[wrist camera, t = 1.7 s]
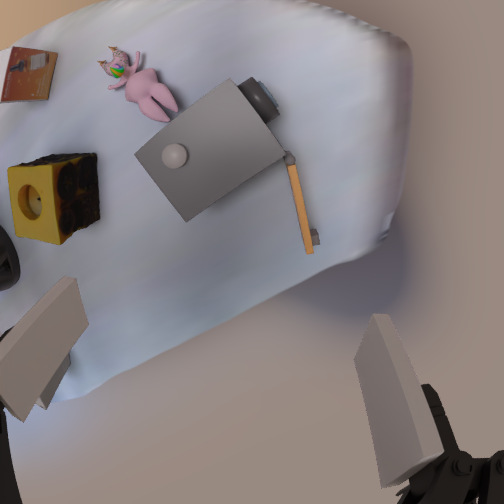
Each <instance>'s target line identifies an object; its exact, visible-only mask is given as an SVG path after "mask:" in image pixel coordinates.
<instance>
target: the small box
mask: <svg viewBox="0 0 504 504" xmlns="http://www.w3.org/2000/svg"><path fill="white" fill-rule="evenodd" d="M57 56H58V53H55V52H49V51H43V50H37V49H30V48H22V47H10V48H7V49H4V50H1V51H0V103H11V102H25V101H38V100H48V95H49V88H50V83H51V79H52V75H53V70H54V66H55V62H56V59H57Z"/></svg>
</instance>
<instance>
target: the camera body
mask: <svg viewBox="0 0 504 504" xmlns="http://www.w3.org/2000/svg"><path fill="white" fill-rule="evenodd" d="M277 107H279V106H278V104H277V102H276V101H275V99H274V98H273V96H272V95H271V94H270V92H269V91H268V90H267V88H266V87H265V86H264V85H263V83H262V82H261V81H258V82H256V80H255V79H254V78H253V77H251V78H249V79H248V80H246V81H244V82H243V83H241V84H240V85H238V86H236V84H235V83H234V82H233V81H232V80H231V78H229V79H227V80H226V81H224V82H223V83H221V84H220V85H218V86H217V87H216V88H214V89H213V90H211V91H210V92H209V93H207V94H206V95H205V96H203V97H202V98H200V99H199V100H198V101H196V102H195V103H194V104H193V105H191V106H190V107H189V108H187V109H186V110H185V111H184V112H182V113H181V114H180V115H179V116H177V117H176V118H175V119H174V120H172V121H171V122H170V123H169V124H168V125H166V126H165V127H164V128H163V129H162V130H160V131H159V132H158V133H157V134H156V135H155V136H154V137H152V138H151V139H150V140H149V141H148V142H147V143H146V144H145V145H144V146H142V147H141V148H140V149H139V150H138V151H137V152H136V153H135V154H134V155H135V156H136V158H137V159H138V160H139V162H140V163H141V165H142V166H143V167H144V168H145V170H146V171H147V172H148V174H149V175H150V176H151V178H152V179H153V180H154V182H155V183H156V184H157V186H158V187H159V188H160V190H161V191H162V192H163V193H164V195H165V196H166V197H167V199H168V200H169V201H170V203H171V204H172V205H173V206H174V208H175V209H176V210H177V212H178V213H179V214H180V215H181V217H182V218H183V219H184V220H185V222H188V221H189V220H191V219H192V218H193V217H195V216H196V215H197V214H199V213H200V212H202V211H203V210H204V209H206V208H207V207H209V206H210V205H211V204H213V203H214V202H216V201H217V200H219V199H220V198H221V197H223V196H224V195H226V194H227V193H229V192H230V191H232V190H233V189H235V188H236V187H237V186H239V185H240V184H242V183H243V182H245V181H246V180H248V179H249V178H251V177H252V176H254V175H255V174H257V173H258V172H260V171H261V170H263V169H265V168H266V167H268V166H269V165H271V164H272V163H274V162H275V161H277V160H279V159H280V158H282V157H283V156H285V155H286V153H285V151H284V150H283V148H282V147H281V145H280V144H279V142H278V141H277V139H276V138H275V137H274V135H273V134H272V132H271V131H270V129H269V128H268V127H267V125H266V123H267V122H269V121H271V120H272V119H274V118H275V117H277V116H279V115H280V114H279V112H278V110H277V109H276V108H277Z"/></svg>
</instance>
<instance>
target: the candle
mask: <svg viewBox="0 0 504 504" xmlns="http://www.w3.org/2000/svg"><path fill="white" fill-rule="evenodd" d="M7 172H8V183H9V191H10V201H11V207H12V214H13V220H14V227H15V233H16V236H18V237H27V238H30V239H36V240H40V241H44V242H48V243H52V244H56V245H61V244H63V243H64V242H65V241H66V240H67V239H68V238H69V237H71V236H72V234H73V233H74V232H75V231H77V230H80V229H83V228H87V227H88V226H89V225H91V224H93V223H94V222H95V221H98V220H99V219H100V215H99V198H98V185H97V184H98V181H97V178H98V176H97V156H96V154H95V153H92V154H90V153H83V154H78V153H75V154H59V155H54V154H51V155H49V156H46V157H44V156H43V157H41V158H39V159H36V160H35V161H32V162H29V163H21V164H19V165H16V166H12V167H9V168H8V169H7Z"/></svg>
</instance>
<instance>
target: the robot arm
mask: <svg viewBox="0 0 504 504" xmlns="http://www.w3.org/2000/svg"><path fill="white" fill-rule="evenodd" d="M19 274H20V268H19V261H18V257H17V254H16V251H15V249H14V246H13V244H12V242H11V240H10V238H9V236H8V235H7V233H6V232H5V231H4V229H3V228H2V227H1V226H0V291H3V290H6V289H9V288H10V287H12V286H13V285H14V284H15V283H16V282H17V281H18V279H19ZM88 325H89V323H88V320H87V317H86V314H85V310H84V307H83V304H82V300H81V297H80V293H79V289H78V285H77V281H76V278H71V277H66V276H64V277H63V278H62V279H61V280H60V281H59V282H58V283H56V284H55V285H54V286H53V287H52V288H51V289H50V290H49V291H48V292H47V293H46V294H45V295H44V296H43V297H42V298H41V299H40V300H39V301H38V302H37V303H36V304H35V305H34V306H33V307H32V308H31V309H30V310H29V311H28V312H27V313H26V314H25V315H24V316H23V318H22V319H21V320H20V321H19V322H18V323H17V324H16V325H15V326H13V327H12V328H10V329H8V330H7V331H5V332H4V334H3V335H2V336H1V337H0V504H22V500H21V498H20V494H19V490H18V486H17V482H16V478H15V474H14V469H13V464H12V459H11V453H10V447H9V440H8V432H7V422H6V415H5V412H4V411H3V409H4V407H6V408H7V410H8V411H9V412H10V413H11V414H12V415H13V416H14V417H16V418H17V419H19V420H20V421H22V422H23V423H24V421H25V420H26V418H27V416H28V414H29V413H30V411H31V409H32V408H33V406H34V404H35V403H36V401H37V399H38V398H39V396H40V395H41V393H42V391H43V390H44V388H45V387H46V385H47V384H48V382H49V381H50V379H51V378H52V376H53V375H54V373H55V372H56V370H57V369H58V367H59V366H60V364H61V363H62V361H63V360H64V358H65V357H66V355H67V354H68V353H69V351H70V350H71V348H72V347H73V345H74V344H75V343H76V341H77V340H78V339H79V337H80V336H81V334H82V333H83V332H84V330H85V329H86V328H87V326H88ZM354 362H355V366H356V370H357V373H358V378H359V382H360V386H361V390H362V394H363V398H364V402H365V407H366V411H367V416H368V420H369V425H370V429H371V434H372V439H373V444H374V449H375V454H376V460H377V465H378V471H379V477H380V483H381V489H382V488H387V487H391V486H396V485H400V484H401V483H403V482H404V481H406V480H407V479H409V483H410V485H408V486H407V487H405V488H404V489H402V490H400V491H399V492H398V493H397V494H396V496H399V495H401V494H402V493H403V495H402V496H401V498H400V500H399V501H398V503H397V504H477V503H476V498H478V497H479V498H478V504H504V450H501V451H498V452H496V453H495V454H494V455H493V456H491V457H490V458H472V456H471V455H470V454H468V453H467V452H465V451H460V450H459V448H458V445H457V443H456V440H455V437H454V435H453V432H452V429H451V426H450V424H449V421H448V418H447V416H445V411H444V408H443V407H442V403H441V401H440V399H439V396H438V394H437V392H436V391H435V390H434V389H433V388H432V387H431V386H430V384H423V385H420V383H419V380H418V378H417V375H416V373H415V371H414V368H413V366H412V364H411V362H410V359H409V357H408V355H407V353H406V350H405V348H404V346H403V344H402V342H401V340H400V337H399V335H398V333H397V331H396V329H395V327H394V325H393V323H392V321H391V319H390V317H389V315H388V314H372V317H371V319H370V322H369V325H368V327H367V330H366V332H365V334H364V337H363V339H362V342H361V344H360V346H359V349H358V351H357V353H356V356H355V358H354Z"/></svg>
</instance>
